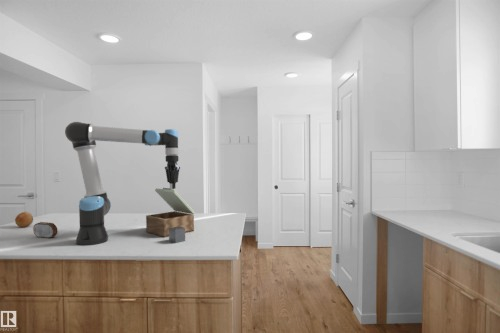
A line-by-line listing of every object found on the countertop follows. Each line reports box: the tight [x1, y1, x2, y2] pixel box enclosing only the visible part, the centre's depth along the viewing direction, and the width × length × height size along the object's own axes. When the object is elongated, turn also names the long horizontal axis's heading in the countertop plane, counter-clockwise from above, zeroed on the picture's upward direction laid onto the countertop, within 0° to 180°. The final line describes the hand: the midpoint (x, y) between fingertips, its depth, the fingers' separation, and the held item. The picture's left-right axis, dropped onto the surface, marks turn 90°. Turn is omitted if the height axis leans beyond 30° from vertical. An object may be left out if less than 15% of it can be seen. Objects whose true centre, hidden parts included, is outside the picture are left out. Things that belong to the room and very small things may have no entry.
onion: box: [14, 211, 34, 228], centre depth 205 cm, size 10×10×10 cm
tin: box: [32, 221, 58, 239], centre depth 176 cm, size 15×3×8 cm, turn 74°
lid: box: [154, 187, 196, 215], centre depth 189 cm, size 20×20×3 cm
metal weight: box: [168, 226, 186, 244], centre depth 164 cm, size 6×6×7 cm
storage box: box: [145, 210, 195, 238], centre depth 186 cm, size 20×20×10 cm
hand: (172, 194), depth 188 cm, fingers closed
